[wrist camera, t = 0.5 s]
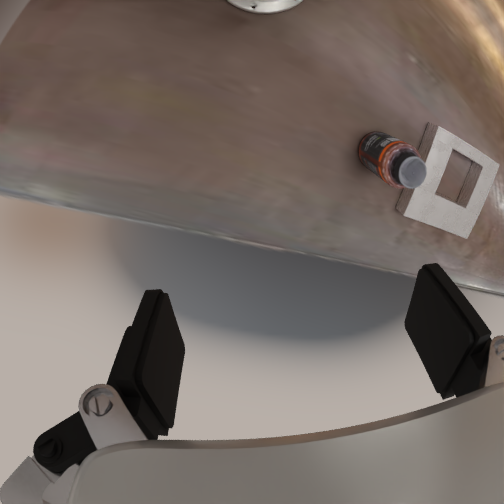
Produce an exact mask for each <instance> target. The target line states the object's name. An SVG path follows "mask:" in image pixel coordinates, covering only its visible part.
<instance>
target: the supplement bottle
mask: <svg viewBox="0 0 504 504" xmlns="http://www.w3.org/2000/svg"><path fill="white" fill-rule="evenodd" d="M359 157H360V160H361V162H362V163H363V164H364V165H365V166H366V167H367V168H368V169H369V170H370V171H372V172H373V173H375V174H376V175H377V176H378V177H380V178H381V179H382V180H384V181H385V182H386V183H388V184H389V185H390V186H392V187H395V188H409V189H414V188H417V187H419V186H420V185H421V184H422V183H423V182H424V180H425V178H426V174H427V168H426V165H425V163H424V161H423V160H422V159H421V156H420V154H419V152H418V151H417V150H416V149H415V148H414V147H413V146H412V145H410V144H408V143H406V142H404V141H401V140H399V139H397V138H395V137H392V136H390V135H388V134H385V133H382V132H372V133H370V134H368V135H366V136H365V137H364V138H363V140H362V141H361V143H360V146H359Z"/></svg>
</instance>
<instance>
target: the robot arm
mask: <svg viewBox="0 0 504 504" xmlns="http://www.w3.org/2000/svg"><path fill="white" fill-rule="evenodd" d="M227 1H228V2H229V3H231V4H232V5H234V6H236V7H237V8H240V9H242V10H244V11H248V12H252V13H258V14H274V13H279V12H284V11H286V10H289V9H291V8H293V7H295V6H297V5H298V4H299V3H301V2H302V1H303V0H297V1H294V0H227ZM252 6H255V7H256V8H255V9H253V8H251V7H252ZM405 329H406V331H407V333H408V335H409V337H410V338H411V340H412V342H413V344H414V346H415V348H416V350H417V352H418V354H419V356H420V358H421V360H422V362H423V364H424V367H425V369H426V371H427V373H428V375H429V377H430V379H431V381H432V384H433V386H434V388H435V390H436V392H437V393H440V394H441V397H442V399H446V398H449V397H452V396H454V395H456V398H454V399H451V400H448V401H445V402H442V403H439V404H437V405H433V406H430V407H427V408H424V409H420V410H417V411H414V412H410V413H407V414H403V415H399V416H395V417H391V418H388V419H384V420H379V421H375V422H371V423H366V424H361V425H356V426H351V427H346V428H341V429H335V430H329V431H323V432H316V433H308V434H301V435H293V436H283V437H273V438H258V439H239V440H157V439H158V435H163V436H168V430H169V428H172V427H173V425H174V419H175V412H176V405H177V398H178V391H179V385H180V379H181V372H182V366H183V361H184V354H185V347H184V342H183V339H182V336H181V333H180V330H179V327H178V324H177V321H176V318H175V315H174V312H173V309H172V305H171V302H170V299H169V296H168V294H167V293H163V291H162V290H161V289H157V290H146V291H145V293H144V295H143V298H142V300H141V303H140V305H139V308H138V311H137V313H136V316H135V318H134V321H133V324H132V326H129V327H127V329H126V331H125V333H124V336H123V339H122V342H121V344H120V347H119V350H118V353H117V355H116V358H115V361H114V364H113V367H112V369H111V372H110V375H109V378H108V381H107V384H97V385H94V386H91V387H90V388H88V389H87V390H86V391H85V392H84V393H83V394H82V395H81V398H80V400H79V411H78V412H77V413H75V414H73V415H72V416H70V417H69V418H67V419H65V420H64V421H62V422H60V423H59V424H57V425H56V426H54V427H52V428H51V429H49V430H47V431H46V432H44V433H43V434H41V435H40V436H39V437H38V438H37V440H36V441H35V444H34V449H33V453H34V456H33V457H32V458H31V457H29V456H28V457H27V458H26V459H25V460H24V461H23V462H22V464H21V465H20V466H19V467H18V468H17V469H16V470H15V471H14V472H13V474H12V475H11V476H10V477H9V478H8V479H7V480H6V481H5V482H4V484H3V485H2V487H1V488H0V500H1V502H2V504H504V336H503V335H501V336H497V337H494V339H493V340H491V338H490V335H491V331H490V330H489V329H488V327H487V326H486V324H485V323H484V321H483V320H482V319H481V317H480V316H479V315H478V313H477V312H476V310H475V309H474V308H473V306H472V305H471V304H470V303H469V301H468V300H467V299H466V297H465V296H464V295H463V293H462V292H461V291H460V290H459V288H458V287H457V286H456V285H455V283H454V282H453V281H452V280H451V279H450V277H449V276H448V275H447V274H446V273H445V271H444V270H443V269H442V268H441V267H440V265H439V264H437V263H433V264H425V265H423V266H422V269H420V270H419V271H418V275H417V279H416V283H415V287H414V291H413V294H412V298H411V302H410V305H409V308H408V312H407V315H406V319H405Z"/></svg>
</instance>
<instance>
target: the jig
mask: <svg viewBox="0 0 504 504" xmlns="http://www.w3.org/2000/svg"><path fill="white" fill-rule="evenodd" d="M452 149H453V150H455V151H457V152H458V153H460V154H462V155H464V156H465V157H467V158H469V159H470V160H472V161H473V162H472V165H471V167H470V170H469V172H468V175H467V177H466V180H465V182H464V185H463V187H462V190H461V192H460V194H459V197H458V199H457V201H455V200H453V199H450V198H448V197H446V196H444V195H442V194H439V193H437V192H436V190H437V187H438V185H439V183H440V180H441V178H442V175H443V173H444V170H445V168H446V165H447V162H448V160H449V157H450V154H451V152H452ZM418 152H419V154H420V156H421V159H422V160H423V161H424V163H425V165H426V168H427V174H426V178H425V180H424V182H423V183H422V184H421V185H420V186H419V187H417V188H414V189H409V188H404V189H403V191H402V193H401V196H400V198H399V201H398V203H397V205H396V209H397V210H398V211H399V212H400V213H401V214H402V215H403V216H406V217H409V218H412V219H415V220H418V221H420V222H423V223H426V224H429V225H432V226H434V227H437V228H440V229H443V230H445V231H448V232H451V233H453V234H456V235H458V236H461V237H464V238H466V239H467V238H468V236H469V234H470V232H471V230H472V228H473V226H474V224H475V222H476V220H477V218H478V216H479V213H480V211H481V209H482V207H483V205H484V202H485V200H486V198H487V195H488V193H489V191H490V188H491V186H492V183H493V181H494V178H495V176H496V173H497V170H498V168H499V164H498V163H496V162H495V161H493V160H492V159H491V158H489V157H488V156H486V155H485V154H483V153H482V152H480V151H479V150H477V149H476V148H474V147H473V146H471V145H470V144H468V143H466V142H465V141H463V140H462V139H460V138H458V137H457V136H455V135H453V134H452V133H450V132H448V131H447V130H445V129H443V128H441V127H440V126H437V125H435V124H432V123H429V122H428V124H427V127H426V130H425V133H424V136H423V139H422V142H421V145H420V147H419V150H418Z"/></svg>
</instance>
